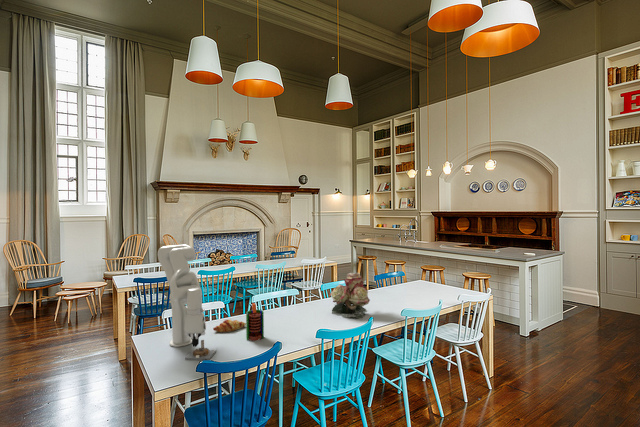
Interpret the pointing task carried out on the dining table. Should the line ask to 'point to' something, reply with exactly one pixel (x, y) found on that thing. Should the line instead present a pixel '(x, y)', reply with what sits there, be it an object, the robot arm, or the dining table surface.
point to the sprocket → (201, 350)
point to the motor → (254, 324)
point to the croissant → (229, 326)
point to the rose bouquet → (350, 297)
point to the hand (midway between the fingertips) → (195, 345)
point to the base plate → (208, 356)
